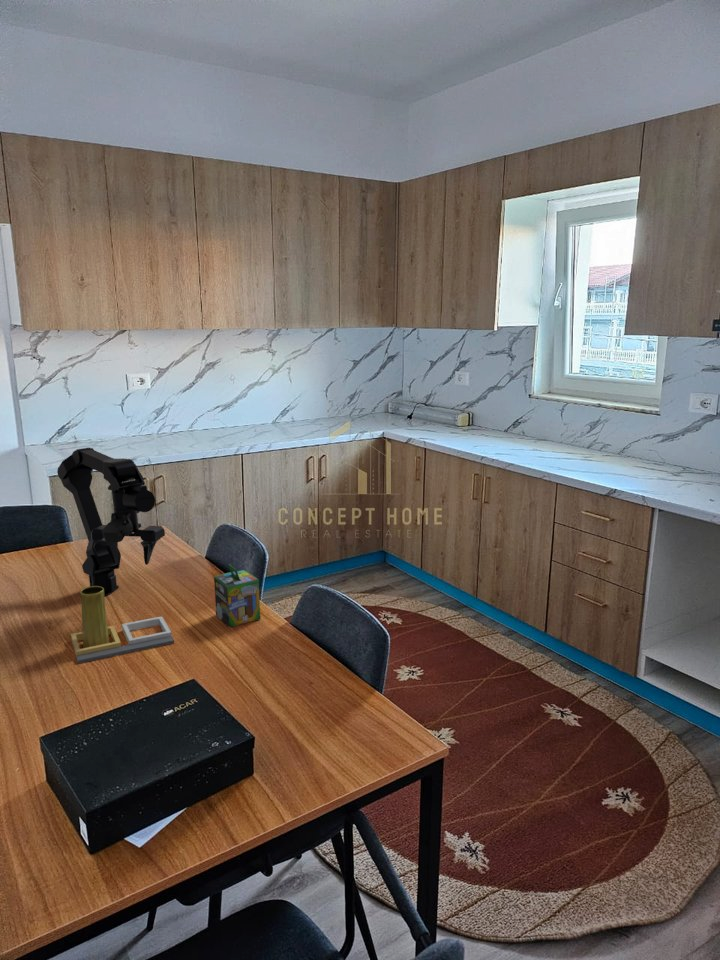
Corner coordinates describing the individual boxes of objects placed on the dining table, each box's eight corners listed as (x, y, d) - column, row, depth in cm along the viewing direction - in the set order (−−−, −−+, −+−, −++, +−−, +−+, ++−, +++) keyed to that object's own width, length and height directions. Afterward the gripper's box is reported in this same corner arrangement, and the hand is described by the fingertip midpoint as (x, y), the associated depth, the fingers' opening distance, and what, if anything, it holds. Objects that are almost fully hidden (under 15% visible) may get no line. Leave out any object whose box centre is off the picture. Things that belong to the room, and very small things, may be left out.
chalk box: (261, 620, 180) (260, 567, 177) (228, 628, 175) (226, 574, 172) (246, 607, 188) (244, 556, 184) (214, 615, 183) (212, 563, 179)
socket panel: (77, 663, 157) (77, 656, 157) (71, 640, 168) (70, 633, 167) (174, 643, 167) (173, 636, 167) (162, 622, 178) (162, 616, 177)
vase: (114, 644, 166) (110, 589, 163) (91, 653, 162) (86, 597, 158) (101, 636, 170) (97, 582, 166) (78, 645, 165) (73, 590, 162)
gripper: (75, 514, 175) (82, 572, 178) (141, 515, 171) (147, 575, 174) (100, 504, 185) (106, 559, 188) (163, 505, 181) (168, 561, 184)
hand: (131, 563), depth 183 cm, fingers open, 9 cm apart
